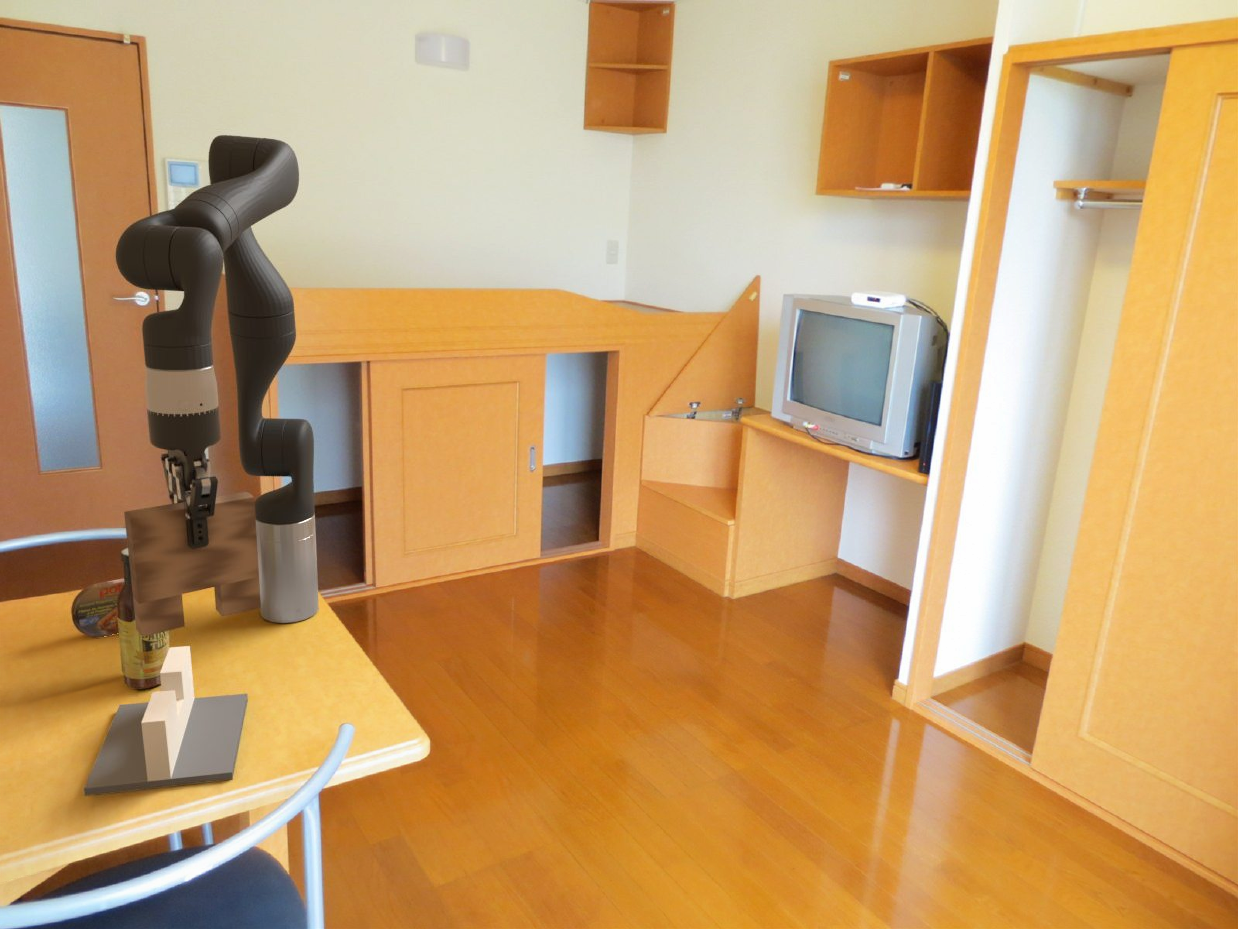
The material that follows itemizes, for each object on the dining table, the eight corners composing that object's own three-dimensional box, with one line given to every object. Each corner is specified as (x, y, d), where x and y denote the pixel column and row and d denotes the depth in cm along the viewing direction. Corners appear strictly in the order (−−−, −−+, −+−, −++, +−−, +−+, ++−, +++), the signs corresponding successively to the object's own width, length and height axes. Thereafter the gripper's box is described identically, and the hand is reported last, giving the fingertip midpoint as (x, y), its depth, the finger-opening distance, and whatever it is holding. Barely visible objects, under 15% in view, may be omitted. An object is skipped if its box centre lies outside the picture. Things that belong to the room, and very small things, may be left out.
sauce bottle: (152, 694, 127) (138, 563, 121) (113, 687, 128) (97, 557, 122) (183, 671, 133) (171, 545, 127) (145, 665, 134) (132, 539, 128)
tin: (75, 643, 139) (68, 593, 136) (72, 635, 141) (66, 585, 139) (182, 621, 148) (178, 573, 145) (178, 613, 150) (173, 566, 148)
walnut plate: (253, 600, 119) (246, 491, 114) (261, 607, 117) (254, 497, 112) (136, 629, 110) (124, 511, 105) (142, 637, 108) (130, 518, 103)
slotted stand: (120, 711, 123) (113, 651, 120) (247, 699, 127) (243, 642, 124) (84, 796, 106) (75, 729, 104) (232, 779, 111) (227, 714, 108)
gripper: (237, 413, 103) (246, 555, 108) (197, 388, 113) (207, 520, 118) (166, 420, 98) (179, 569, 103) (131, 394, 108) (144, 531, 113)
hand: (194, 542), depth 110 cm, fingers closed on walnut plate, 2 cm apart
